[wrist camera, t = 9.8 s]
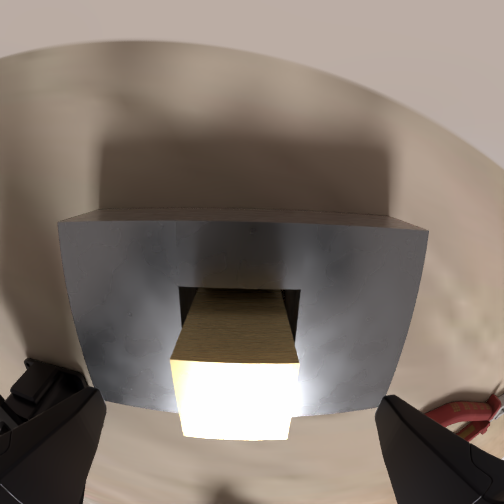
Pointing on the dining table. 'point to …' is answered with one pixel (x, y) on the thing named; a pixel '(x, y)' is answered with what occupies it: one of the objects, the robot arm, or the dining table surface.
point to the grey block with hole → (243, 277)
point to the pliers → (469, 415)
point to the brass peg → (235, 365)
